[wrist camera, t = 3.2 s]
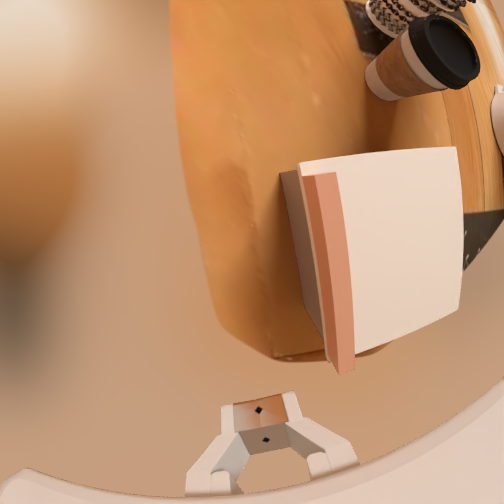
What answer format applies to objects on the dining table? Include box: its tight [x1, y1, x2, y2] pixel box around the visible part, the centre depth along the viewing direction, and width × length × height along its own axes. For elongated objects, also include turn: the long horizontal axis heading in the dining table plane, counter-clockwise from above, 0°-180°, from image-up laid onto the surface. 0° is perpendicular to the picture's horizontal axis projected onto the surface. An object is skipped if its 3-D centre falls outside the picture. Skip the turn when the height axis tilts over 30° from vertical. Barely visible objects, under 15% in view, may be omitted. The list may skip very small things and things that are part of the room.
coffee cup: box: [365, 15, 480, 101], centre depth 20 cm, size 8×8×15 cm
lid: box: [296, 147, 463, 374], centre depth 20 cm, size 17×18×4 cm
